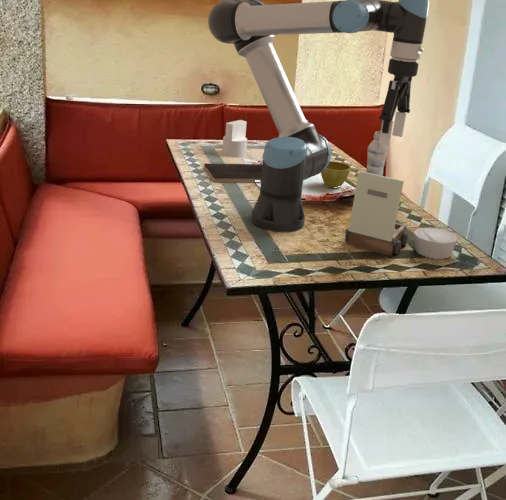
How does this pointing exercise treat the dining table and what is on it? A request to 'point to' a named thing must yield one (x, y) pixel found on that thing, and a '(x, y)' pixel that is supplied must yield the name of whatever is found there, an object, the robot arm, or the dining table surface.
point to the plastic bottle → (376, 156)
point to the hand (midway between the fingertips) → (390, 140)
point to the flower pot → (335, 174)
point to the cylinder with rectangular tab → (235, 139)
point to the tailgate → (375, 205)
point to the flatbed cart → (379, 241)
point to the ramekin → (434, 242)
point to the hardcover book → (234, 172)
